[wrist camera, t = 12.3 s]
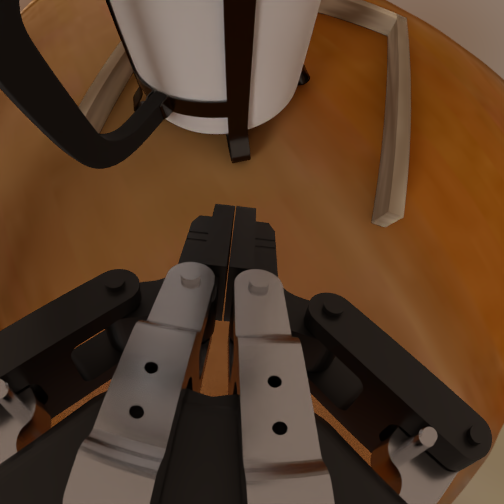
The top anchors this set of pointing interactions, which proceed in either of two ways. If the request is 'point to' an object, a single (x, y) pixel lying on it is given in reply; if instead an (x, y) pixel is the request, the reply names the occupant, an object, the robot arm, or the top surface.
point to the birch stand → (396, 110)
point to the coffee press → (172, 72)
